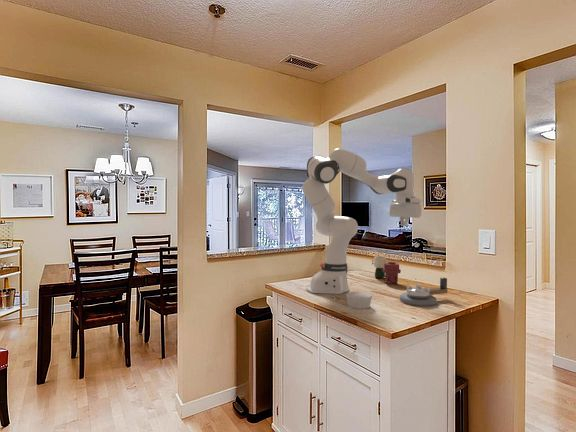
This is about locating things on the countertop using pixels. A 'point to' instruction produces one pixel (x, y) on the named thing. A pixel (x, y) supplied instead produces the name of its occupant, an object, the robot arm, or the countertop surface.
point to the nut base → (418, 300)
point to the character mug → (379, 266)
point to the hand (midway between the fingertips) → (404, 225)
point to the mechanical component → (391, 272)
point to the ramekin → (359, 300)
